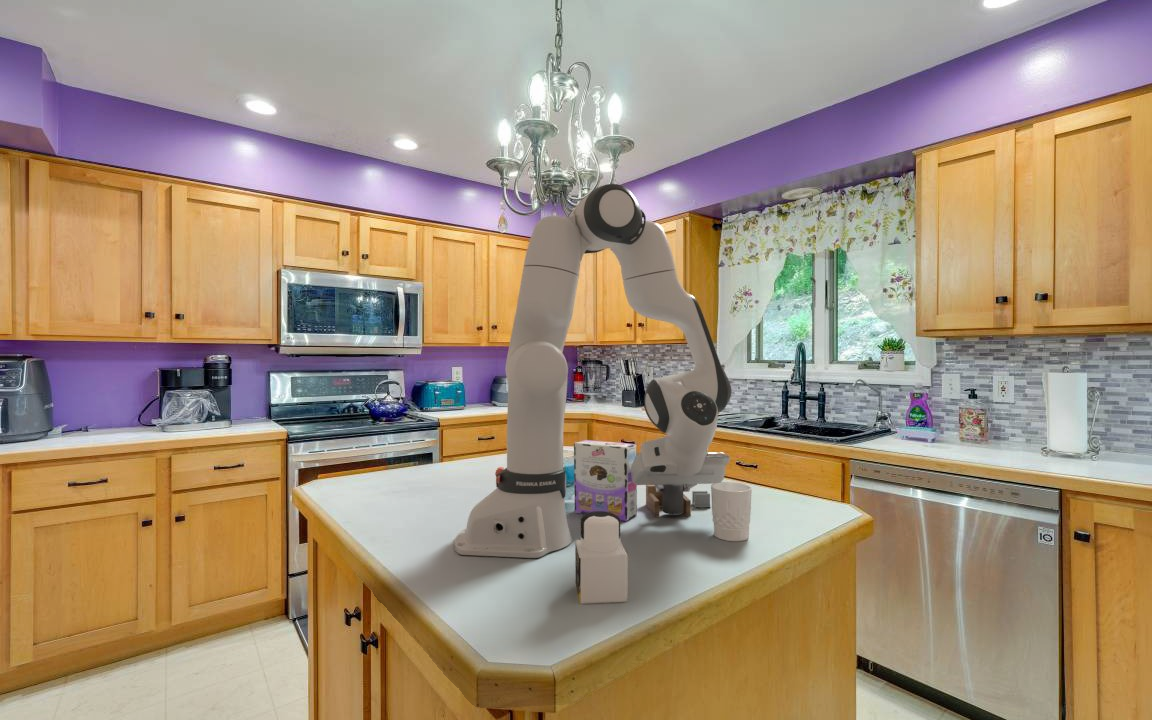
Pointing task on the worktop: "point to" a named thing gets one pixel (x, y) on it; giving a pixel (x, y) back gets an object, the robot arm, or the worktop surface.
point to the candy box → (605, 478)
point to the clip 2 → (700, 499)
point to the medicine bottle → (600, 560)
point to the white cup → (731, 510)
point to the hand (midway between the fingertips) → (672, 489)
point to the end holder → (656, 500)
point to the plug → (673, 499)
